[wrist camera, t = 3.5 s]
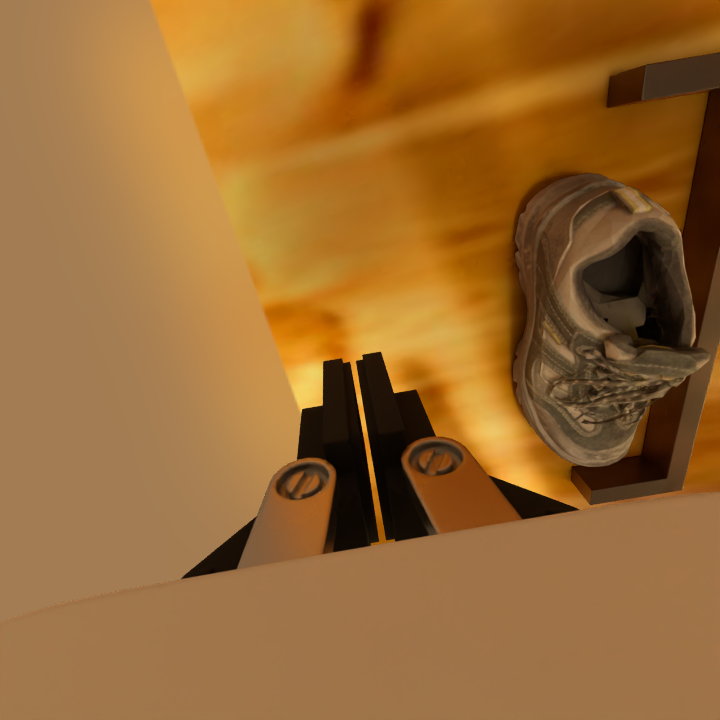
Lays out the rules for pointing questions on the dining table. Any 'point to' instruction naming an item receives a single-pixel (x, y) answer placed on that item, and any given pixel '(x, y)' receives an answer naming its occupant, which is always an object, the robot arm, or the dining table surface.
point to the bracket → (707, 285)
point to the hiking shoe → (600, 315)
